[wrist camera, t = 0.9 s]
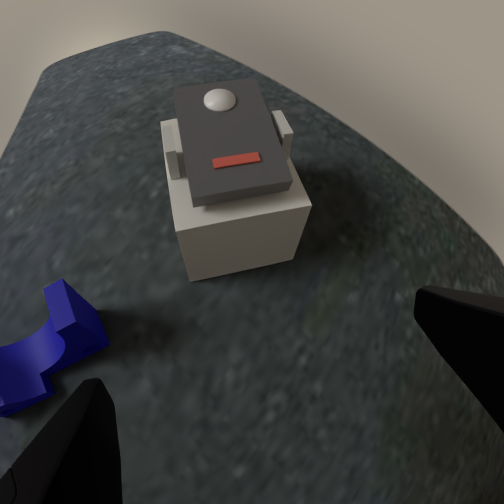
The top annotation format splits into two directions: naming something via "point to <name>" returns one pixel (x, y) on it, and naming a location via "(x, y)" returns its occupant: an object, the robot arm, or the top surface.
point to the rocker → (229, 142)
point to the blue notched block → (49, 349)
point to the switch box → (234, 216)
